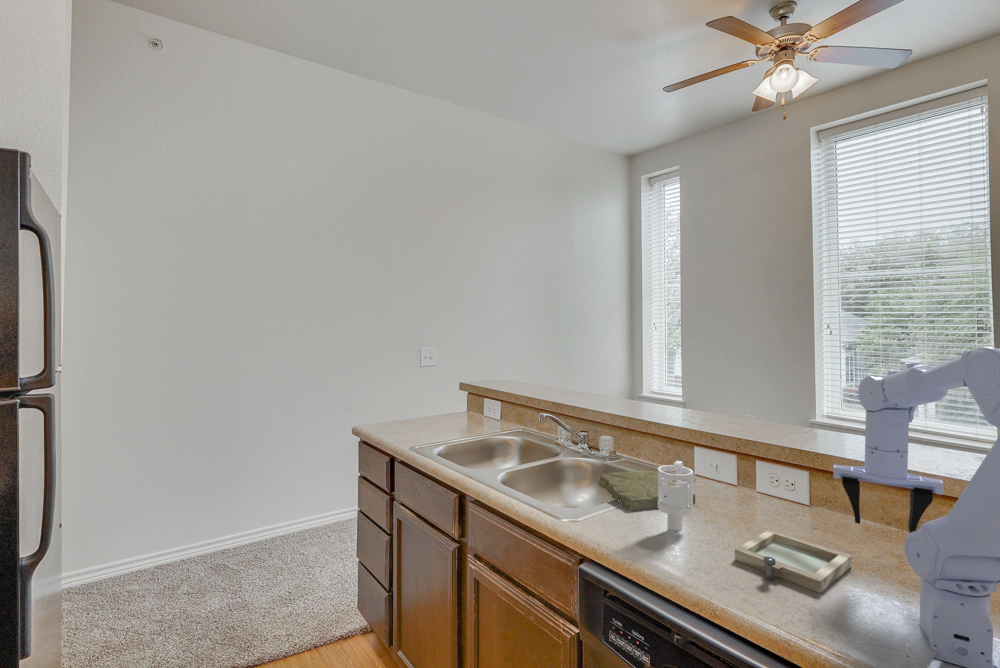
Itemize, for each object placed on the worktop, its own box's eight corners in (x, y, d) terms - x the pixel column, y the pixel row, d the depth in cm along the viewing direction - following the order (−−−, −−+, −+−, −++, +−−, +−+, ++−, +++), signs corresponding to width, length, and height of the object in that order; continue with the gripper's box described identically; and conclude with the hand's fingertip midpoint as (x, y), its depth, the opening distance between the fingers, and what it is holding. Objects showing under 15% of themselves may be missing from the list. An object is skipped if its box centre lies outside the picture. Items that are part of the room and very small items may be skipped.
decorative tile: (651, 479, 141) (651, 467, 141) (696, 505, 121) (696, 491, 121) (592, 486, 136) (592, 473, 136) (629, 513, 116) (629, 498, 116)
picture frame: (817, 595, 78) (817, 583, 78) (731, 561, 90) (731, 550, 89) (851, 566, 87) (851, 555, 87) (769, 538, 99) (770, 529, 99)
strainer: (696, 532, 105) (696, 463, 104) (687, 544, 99) (687, 471, 99) (663, 524, 109) (663, 457, 109) (653, 535, 103) (653, 465, 103)
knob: (774, 591, 82) (774, 562, 82) (762, 588, 83) (762, 559, 83) (775, 586, 84) (776, 558, 83) (763, 583, 85) (764, 555, 85)
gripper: (939, 448, 82) (936, 528, 82) (834, 436, 90) (832, 508, 91) (946, 459, 76) (944, 544, 77) (834, 445, 84) (832, 522, 85)
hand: (883, 526), depth 83 cm, fingers open, 7 cm apart
